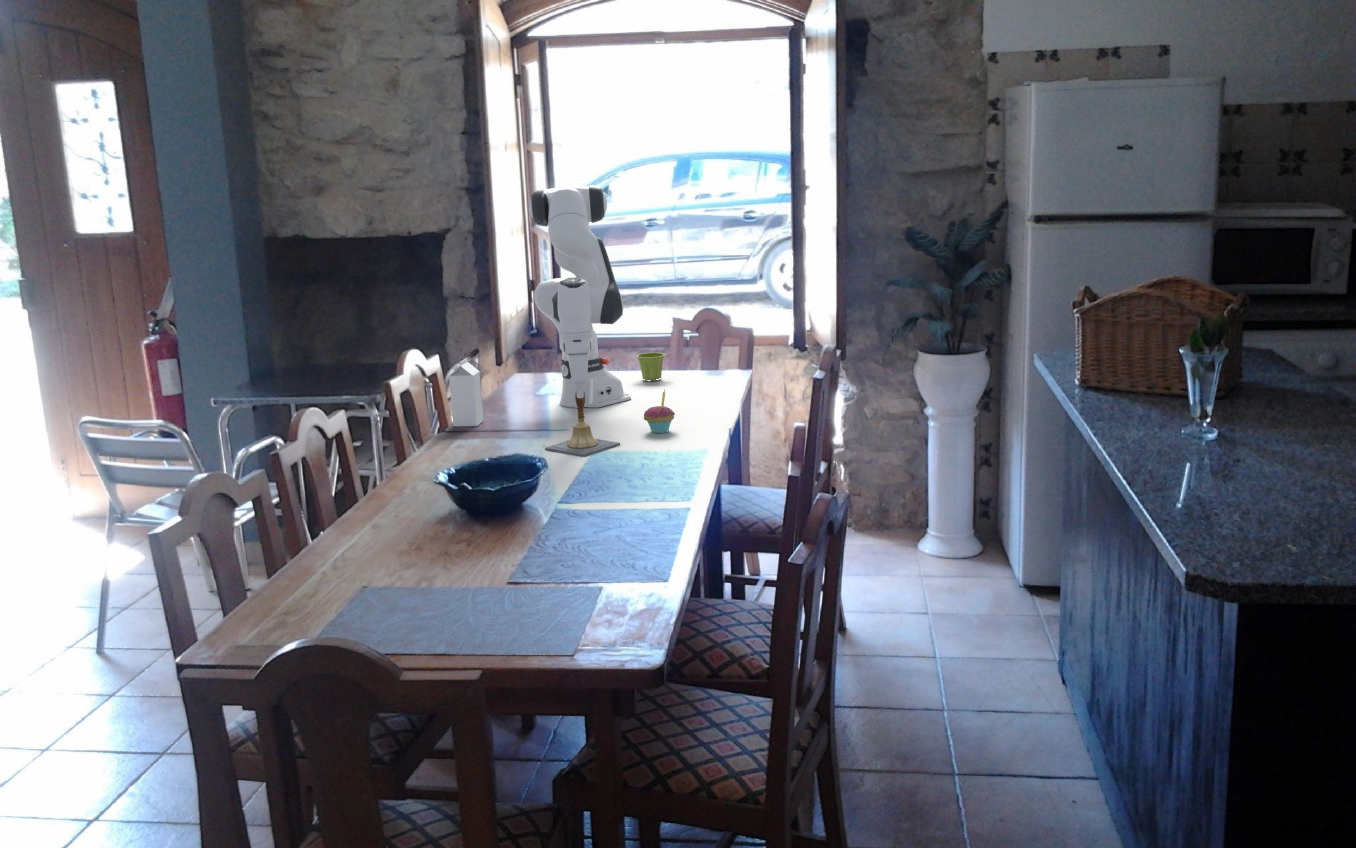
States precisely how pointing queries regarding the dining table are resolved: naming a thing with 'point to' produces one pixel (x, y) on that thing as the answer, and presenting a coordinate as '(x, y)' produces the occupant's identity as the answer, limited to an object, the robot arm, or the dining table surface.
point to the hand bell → (581, 429)
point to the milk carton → (466, 395)
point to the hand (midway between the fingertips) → (579, 393)
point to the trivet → (582, 451)
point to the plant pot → (651, 365)
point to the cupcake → (659, 417)
